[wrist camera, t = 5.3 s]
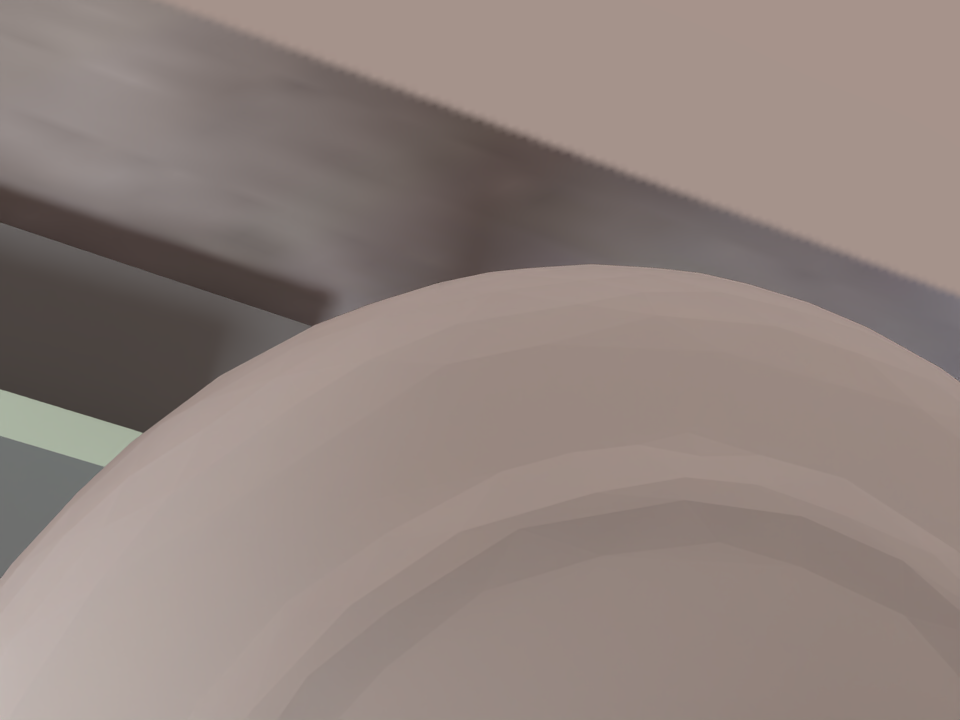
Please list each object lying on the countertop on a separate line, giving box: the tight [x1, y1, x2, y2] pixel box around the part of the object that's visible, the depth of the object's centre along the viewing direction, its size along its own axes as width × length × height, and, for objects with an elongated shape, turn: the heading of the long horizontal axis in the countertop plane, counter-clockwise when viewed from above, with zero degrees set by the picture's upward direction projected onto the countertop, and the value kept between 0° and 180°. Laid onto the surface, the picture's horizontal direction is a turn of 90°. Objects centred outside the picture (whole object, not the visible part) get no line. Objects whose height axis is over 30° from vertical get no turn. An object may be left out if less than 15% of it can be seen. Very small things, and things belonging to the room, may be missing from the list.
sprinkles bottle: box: [0, 264, 960, 720], centre depth 9 cm, size 5×5×14 cm
